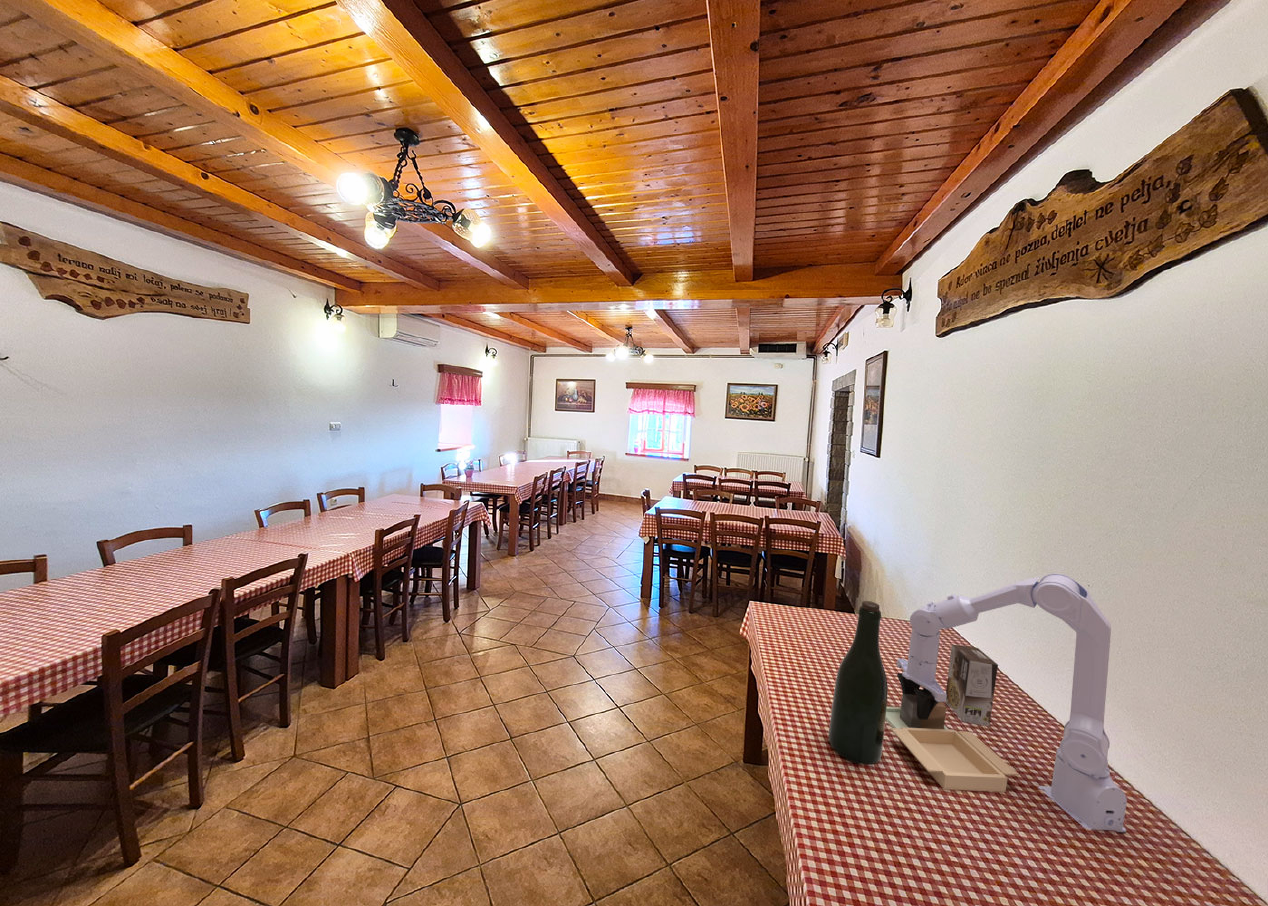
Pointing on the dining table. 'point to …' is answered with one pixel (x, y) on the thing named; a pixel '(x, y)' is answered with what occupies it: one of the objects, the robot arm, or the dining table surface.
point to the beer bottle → (861, 694)
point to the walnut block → (910, 714)
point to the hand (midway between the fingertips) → (915, 711)
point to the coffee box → (971, 684)
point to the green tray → (896, 718)
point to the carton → (956, 759)
